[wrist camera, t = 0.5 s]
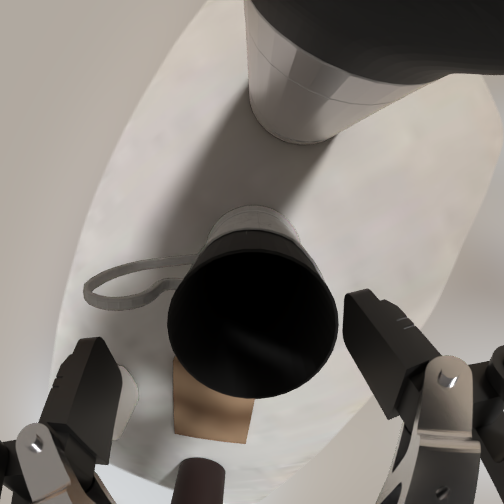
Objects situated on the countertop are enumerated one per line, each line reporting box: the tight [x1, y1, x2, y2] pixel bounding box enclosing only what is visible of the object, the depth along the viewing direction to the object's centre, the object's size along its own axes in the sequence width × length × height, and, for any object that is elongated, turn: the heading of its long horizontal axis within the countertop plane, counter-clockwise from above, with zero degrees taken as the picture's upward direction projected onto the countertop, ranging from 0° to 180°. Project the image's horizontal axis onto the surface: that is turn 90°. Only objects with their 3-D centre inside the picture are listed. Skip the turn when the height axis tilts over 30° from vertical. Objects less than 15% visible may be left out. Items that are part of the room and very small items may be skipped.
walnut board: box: [173, 356, 255, 444], centre depth 30 cm, size 12×9×1 cm
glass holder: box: [83, 205, 339, 399], centre depth 20 cm, size 9×14×15 cm, turn 85°
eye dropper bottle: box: [112, 366, 139, 440], centre depth 25 cm, size 4×6×12 cm
